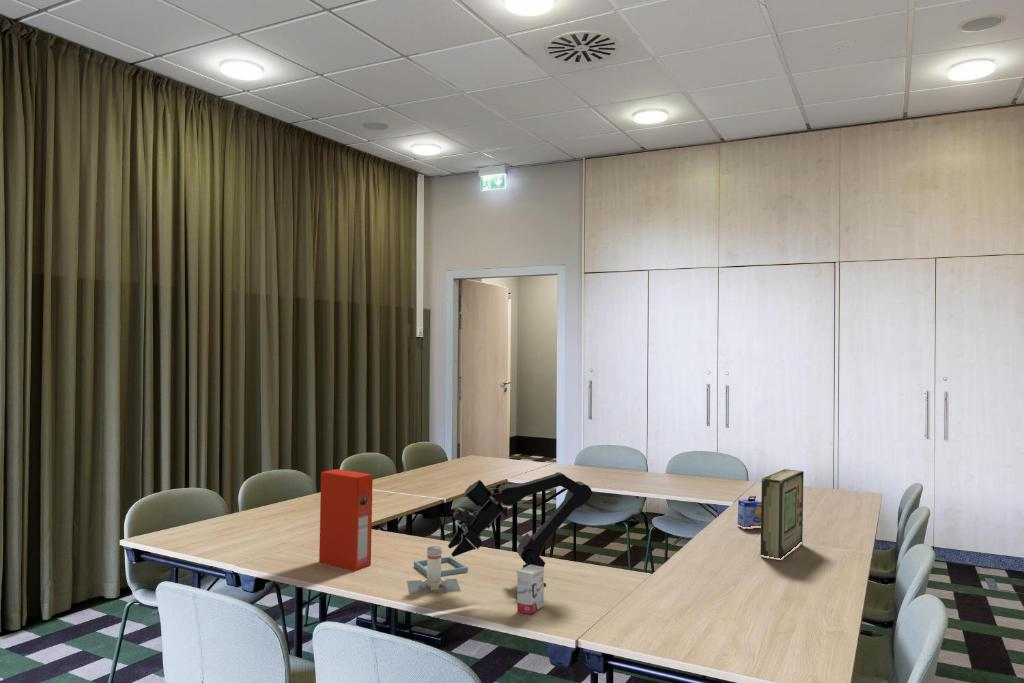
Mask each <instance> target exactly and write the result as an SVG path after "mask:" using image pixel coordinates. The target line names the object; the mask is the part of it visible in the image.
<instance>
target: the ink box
mask: <svg viewBox="0 0 1024 683" xmlns="http://www.w3.org/2000/svg"><path fill="white" fill-rule="evenodd" d="M516 575H517V576H516V577H517V580H516V581H517V585H516V586H517V587H516V590H517V591H516V593H517V594H516V596H517V597H516V600H517V602H516V603H517V604H516V606H517V613H523V614H530V615H532V614H534V613H535V612H536V611H538V610H539V609H541V608H543V606H544V602H545V601H544V600H545V599H544V596H545V595H544V590H545V589H544V588H545V586H544V583H545V580H544V579H545V566H544V567H541V566H536V565H528V566H526V567H524V568H523V567H522V568H521V569H518V570H517V574H516Z"/></svg>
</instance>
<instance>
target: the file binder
mask: <svg viewBox="0 0 1024 683" xmlns="http://www.w3.org/2000/svg"><path fill="white" fill-rule="evenodd" d="M373 477H374V476H373V474H372V473H365V472H358V471H352V470H346V469H339V468H336V469H330V470H325V471H321V472H320V505H319V506H320V507H319V508H320V510H319V511H320V512H319V513H320V514H319V549H318V550H319V553H318V555H319V556H318V561H319V563H321V564H325V565H329V566H333V567H338V568H342V569H345V570H348V571H351V572H352V571H353V572H357V571H361V570H363V569H366V568H367V567H370V566H371V565H372V533H373V532H372V528H373V527H372V526H373V522H372V520H373V518H372V517H373V480H374V479H373Z"/></svg>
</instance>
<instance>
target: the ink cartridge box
mask: <svg viewBox="0 0 1024 683" xmlns="http://www.w3.org/2000/svg"><path fill="white" fill-rule="evenodd" d="M737 502H738V503H737V524H738V525H740V526H742V527H751V526H761V500H758V499H757V496H756V495H753V496H752V495H750V496H749V497H748V499H738V500H737Z"/></svg>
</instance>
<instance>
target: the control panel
mask: <svg viewBox="0 0 1024 683" xmlns="http://www.w3.org/2000/svg"><path fill="white" fill-rule="evenodd" d="M804 472H805V471H802V470H796V469H787V468H786V469H785V468H784V469H782V470H779V471H777V472H774V473H772V474H769V475H768V476H765V477H762V478H761V500H760V501H761V529H760V555H764V556H769V557H774V558H780V559H781V558H782V557H783V556H785V555H786V554H787V553H788V552H790V551H791V550H792V549H793V548H794V547H796V546H797V545H798V544H799V543H800V542H802V543H803V536H804V535H803V532H804V531H803V528H804V526H803V524H804V523H803V522H804Z"/></svg>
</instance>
